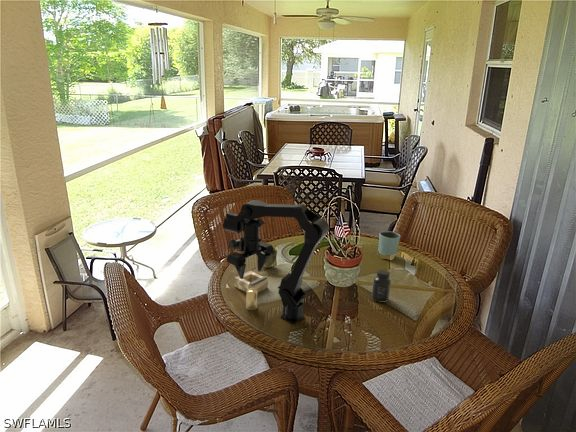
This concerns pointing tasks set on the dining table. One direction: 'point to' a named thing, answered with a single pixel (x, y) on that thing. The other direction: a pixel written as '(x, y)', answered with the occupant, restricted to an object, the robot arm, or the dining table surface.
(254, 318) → the dining table surface
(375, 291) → the supplement bottle
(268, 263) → the cup
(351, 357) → the dining table surface
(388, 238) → the teal plant pot
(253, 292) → the gold metal cylinder
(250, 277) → the jig
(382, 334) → the dining table surface
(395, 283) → the dining table surface
